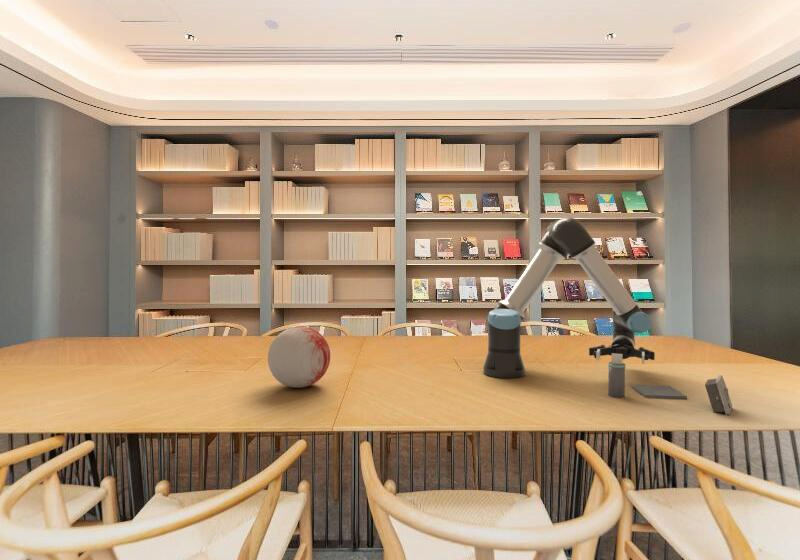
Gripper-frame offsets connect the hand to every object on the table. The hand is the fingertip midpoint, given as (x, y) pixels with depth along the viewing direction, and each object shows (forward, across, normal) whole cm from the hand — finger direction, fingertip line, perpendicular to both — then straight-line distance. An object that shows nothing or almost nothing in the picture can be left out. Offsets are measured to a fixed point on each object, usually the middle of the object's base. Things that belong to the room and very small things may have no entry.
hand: (619, 358), depth 154 cm
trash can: (+10, 0, -10) cm, 14 cm away
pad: (0, -11, -10) cm, 15 cm away
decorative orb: (+47, +94, -8) cm, 106 cm away
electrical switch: (+12, -26, -11) cm, 30 cm away
